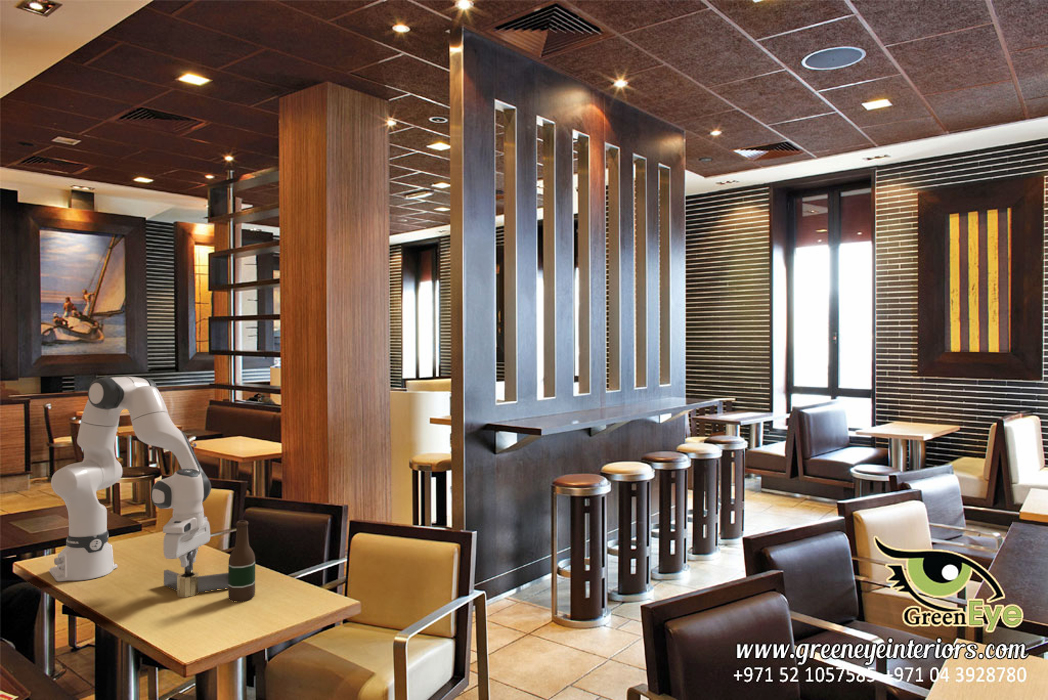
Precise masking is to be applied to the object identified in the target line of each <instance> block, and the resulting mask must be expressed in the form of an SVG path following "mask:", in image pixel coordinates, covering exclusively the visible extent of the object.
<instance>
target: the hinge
mask: <svg viewBox="0 0 1048 700" xmlns="http://www.w3.org/2000/svg"><path fill="white" fill-rule="evenodd" d="M164 585H165V586H164ZM163 586H164V587H166V586H168V587H170V588H169V589H171V588H173V589H175V590H174V591H176V590H177V591H176V597H179V598H189V597H188V596H191V597H193V596H192V595H194V596H196V595H198V594H199V593H198V592H203V593H206V592H205V591H211V590H217V589H225V588H228V572H222V573H216V574H215V573H214V574H206V575H205V574H204V575H199V572H196V571H193V576H190V577H185V572H183V573H178V572H175V571H173V570H170V569H164V570H163ZM168 587H167V588H168ZM173 589H172V590H173ZM211 592H212V591H211ZM197 593H198V594H197Z"/></svg>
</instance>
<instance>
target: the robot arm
mask: <svg viewBox="0 0 1048 700" xmlns="http://www.w3.org/2000/svg"><path fill="white" fill-rule="evenodd" d="M87 398H88V399H87V401H86V403H85V407H84V409H83V411H82V415H81V421H80V425H79V429H78V433H77V438H76V443H77V445H78V446H79V447H80V448H81V449H82V451H83V459H82V461H80V462H76V463H71V464H67V465H65V466H63V467H61V468H59V469H58V470H56V471H55V472H54V473H53V475H52V477H51V480H50V485H51V489H52V490H53V491H52V492H54V494H56V495H57V496H58V497H60V498H61V499H62V500H63V502H64V503H65V506H66V510H67V513H68V514H67V515H68V534H67V538H66V541H65V542H66V543H65V545H66V546H65V547H64V548H63V549H62V550H61V551H60V552H59V553H58V554H57V557H55V558H54V559H53V561H54V565H55V566H53V567H51V568H49V570H48V572H49V573H50V574H51V575H50V576H52V577H53V578H54V580H55V581H56V582H67V581H84V580H85V581H86V580H92V579H95V578H96V579H97V578H100V577H103V576H106V575H109V574H110V573H112V571H114V569H118V564H117V563H115V562H114V551H113V545H112V544H111V543H109V535H110V534H109V530H108V528H107V527H108V526H107V525H108V510H107V507H106V506H105V505H104V504H102V503H100V501H99V500H98V495H97V492H98V491H100V490H104V489H108V488H110V487H111V486H113V485H115V484H116V483H117V482H119V481H120V480H121V478H122V476H123V473H124V471H123V467H122V464H121V463H120V462H119V461H118V459H117V456H116V452H115V444H116V437H117V433H118V428H119V427H118V426H119V423H120V416H121V413H122V411H124V410H127V411H128V413H129V418H130V421H131V422H130V423H131V424H132V429H133V431H134V434H135V436H136V437H137V439H138V440H139V441H141V442H143V443H144V444H146V445H148V446H149V445H150V446H152V447H158V448H161V449H165V450H168V451H169V452H171V453H172V454H173V455H174V456H175V458H176V460H177V462H178V464H179V466H180V468H181V469H178V470H176V471H175V472H174V473H173V474H172V475H171V476H168V477H166V478H163V479H159V480H157V481H156V482H155V483H154V484H153V486H152V488H151V491H150V500H151V502H152V504H153V505H154V506H155V507H156V508H157V509H161V510H163V509H164V510H167V509H168V510H169V509H172V517H171V518H170V519H169V521H168V522H167V523H166V524H165V525H163V526H162V527H163V528H162V533H163V534H164V536H163V544H162V545H163V555H164V558H165V559H167V560H176V559H178V558H179V561H180V567H181V568H184V567H187V566H188V565H189V560H187V558H186V556H187V553H188V552H190V551H192V550H193V564H194V563H195V562H197V561H196V560H197V555H198V551H199V548H200V547H201V546H204V545H206V544H208V543H210V540H211V526H210V522H209V520H208V517H207V516H206V515H205V513H204V512H205V510H204V506H203V503H204V502H205V501H206V500H207V498H208V497H209V496H210V494H211V492H212V484H211V481H210V479H209V478H208V476H207V474H206V473H205V471H204V470H203V468H202V467H201V464H200V462H199V460H198V457H197V456H196V454H195V451H194V449H193V446H192V444H191V443H190V441H189V439H188V437H187V435H186V434H185V432H184V431H183V430H181V429H179V428H178V427H177V426H176V425H175V423H174V422H173V420H172V419H171V416H170V414H169V410H168V407H167V405H166V402H165V400H164V398H163V396H162V394H161V392H160V391H159V389H158V385H157V384H156V382H155V381H154V380H152V379H150V378H146V377H136V376H126V375H125V376H115V377H114V376H113V377H109V376H105V377H99V378H97V379H94V380H93V381H92V382H91V383H90V384H89V387H88V390H87Z"/></svg>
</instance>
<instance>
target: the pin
mask: <svg viewBox="0 0 1048 700" xmlns="http://www.w3.org/2000/svg"><path fill="white" fill-rule="evenodd" d="M186 558H187V560H189V565H188V566H187V567H183V568H184V573H185V577H190V576H193V572H194V563H193V550H192V551H190V552H188V553H187V556H186Z"/></svg>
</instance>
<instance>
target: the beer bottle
mask: <svg viewBox="0 0 1048 700" xmlns="http://www.w3.org/2000/svg"><path fill="white" fill-rule="evenodd" d="M249 524H250V523H249V521H247V520H245V519H244V520H242V519H241V520H238V521H237V522H236V523H235V526H236V530H235V544H234V548H233V550H232V551H231V552H230V555H229V557H228V566H227V567H228V568H227V570H228V572H227V573H228V589H227V590H228V592H227V593H228V596H227V597H228V600H229V599H230V600H229V601H231V602H232V601H233V602H232V603H235V602H234V601H237V602H236V603H243V601H244V602H247V601H251V600H252V599H253V598H254V597H256V596H255V595H256V555H255V552H254V551H253V549H252V547H251V546H250V541H249V528H248V527H249V526H248V525H249Z"/></svg>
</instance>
